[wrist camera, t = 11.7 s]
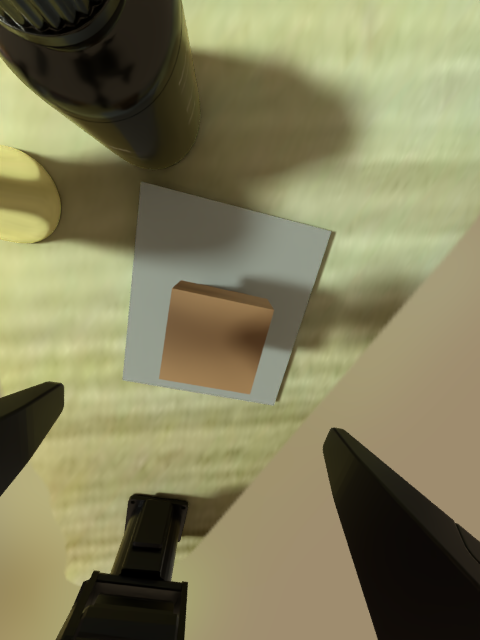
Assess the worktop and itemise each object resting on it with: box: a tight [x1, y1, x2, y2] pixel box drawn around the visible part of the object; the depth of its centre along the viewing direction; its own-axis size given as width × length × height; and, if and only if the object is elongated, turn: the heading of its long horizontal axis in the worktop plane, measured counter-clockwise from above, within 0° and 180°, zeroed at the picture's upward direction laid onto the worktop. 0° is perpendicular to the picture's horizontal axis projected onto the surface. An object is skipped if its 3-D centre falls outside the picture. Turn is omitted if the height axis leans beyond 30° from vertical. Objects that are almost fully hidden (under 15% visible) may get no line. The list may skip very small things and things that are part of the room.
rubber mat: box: [123, 182, 331, 405], centre depth 20 cm, size 16×14×1 cm
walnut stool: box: [159, 280, 274, 394], centre depth 17 cm, size 6×6×6 cm
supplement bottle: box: [0, 0, 200, 170], centre depth 10 cm, size 7×7×12 cm
